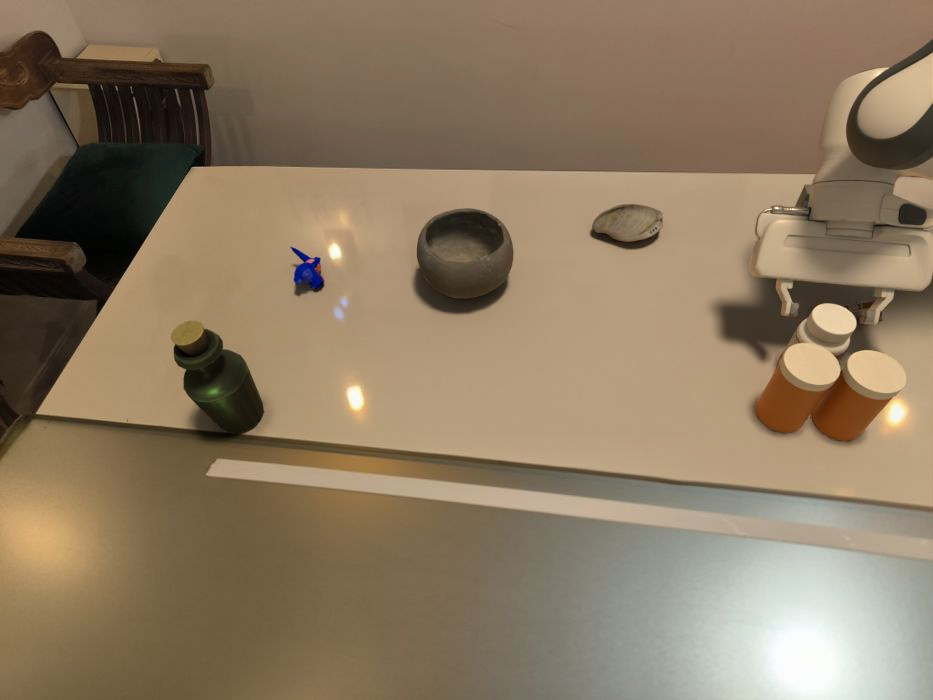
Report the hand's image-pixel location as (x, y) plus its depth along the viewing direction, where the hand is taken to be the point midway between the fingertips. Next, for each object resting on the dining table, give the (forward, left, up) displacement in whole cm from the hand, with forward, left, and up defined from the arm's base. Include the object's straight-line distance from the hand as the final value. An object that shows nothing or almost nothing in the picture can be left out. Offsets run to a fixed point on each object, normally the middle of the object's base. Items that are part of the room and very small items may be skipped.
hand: (827, 320), depth 78 cm
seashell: (+1, -35, -9) cm, 36 cm away
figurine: (+50, -58, -9) cm, 77 cm away
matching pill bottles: (+6, +6, -9) cm, 13 cm away
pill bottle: (+1, +1, -9) cm, 9 cm away
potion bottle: (+69, -39, -9) cm, 79 cm away
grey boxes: (-21, -14, -9) cm, 27 cm away
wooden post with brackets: (-12, -2, -9) cm, 15 cm away
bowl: (+29, -42, -9) cm, 51 cm away
